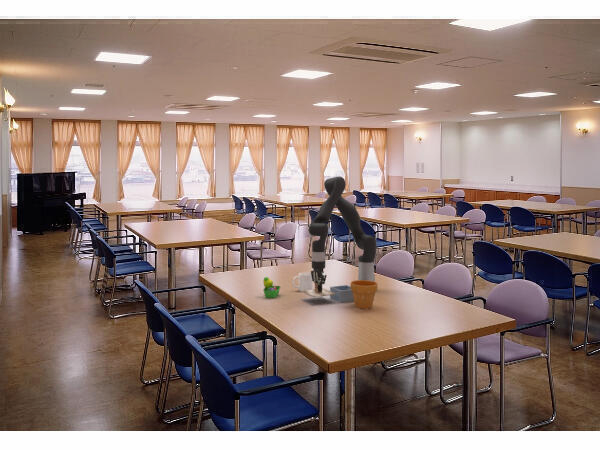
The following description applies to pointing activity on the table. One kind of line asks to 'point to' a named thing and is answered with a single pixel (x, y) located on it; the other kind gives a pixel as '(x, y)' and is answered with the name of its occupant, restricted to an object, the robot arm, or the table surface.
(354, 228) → the robot arm
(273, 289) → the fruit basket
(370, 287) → the flower pot
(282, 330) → the table surface
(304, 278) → the cup
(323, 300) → the mat
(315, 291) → the lid
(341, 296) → the blue gray open box
